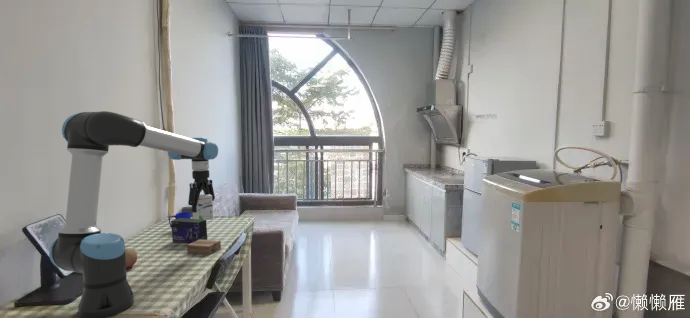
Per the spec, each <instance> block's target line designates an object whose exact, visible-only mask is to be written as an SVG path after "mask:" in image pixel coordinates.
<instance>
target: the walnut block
mask: <svg viewBox="0 0 690 318" xmlns="http://www.w3.org/2000/svg"><path fill="white" fill-rule="evenodd" d="M221 245H222V243H221V240H212V239H207V240H202V239H199V240H197V241H195V242H192V243H190V244H186V249H187V251H186V252H187V254H192V253H194V254H195V255H205V256H210V255H212V254H214V253H216V252H218V251H220V250H221V249H222V246H221Z"/></svg>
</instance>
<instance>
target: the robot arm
mask: <svg viewBox="0 0 690 318" xmlns="http://www.w3.org/2000/svg"><path fill="white" fill-rule="evenodd" d="M61 134H62V137H63V139H65V141H66V143H67V145H66V150H67V151H68V152H69V153H70V154H71V163H70V164H71V165H70V172H69V173H70V174H69V183H68V184H69V185H68V192H67V203H66V212H65V213H66V214H65V224H64V226H63V227H62V228H60V229H59V230H58V235H57V238H56V239H55V240H54V241H53V242H52V243H51V244H50V247H49V249H48V250H49V251H48V257H49V260H50V261H51V263H52V264H53V265H54V267H55V266H56V267H57V268H59V269H61V270H64V271H66V272H67V271H68V272H74V273H78V274H82V281H83V291H82V293H81V296H80V297H81V298H80V302H79V304H78V307H77V309H78V310H77V312H78V316H79V317H80V318H106V317H110V316H113V315H116V314H120V313H121V312H124V311H126V310H127V309H129V308H130V307H131V306H133V305H134V303H135V295H134V292H133V290H132V288H131V285H130V284H129V282H128V278H127V276H128V275H127V268H126V258H125V249H127V248H126V243H125V239H124V237H123V236H122V235H120V234H117V233H112V232H109V233H106V232H102V230H101V228H100V227H99V226H98V225H97V222H98V221H97V220H98V210H99V198H100V186H101V176H102V167H103V157H104V156H106V155H107V154H108V153H109V148H110V146H127V147H132V148H137V147H140V146H141V147H146V148H149V149H154V150H159V151H164V152H167V156H168V157H169V158H170V159H171V160H174V161H175V160H178V161H179V160H191V170H192V172H191V174H192V175H191V176H192V179H193V180H194V181H193V182H191V183H189V193H188V201H187V202H188V203H187V205H189V206H191V212H193V213H192V219H199V207H198V205H197V203H198V199H199V196H200V195H201V193H202V191H203V195H204V194H210V195H212V202H214V201H215V199H216V196H215V192H214V187H213V180H212V179H209V178H210V165H209V164H210V162H209V161H210V160H215V159H216V158H217V157H218V154H219V147H218V145H217V144H216V143H215V142H213V141H211V142H210V141H208V138H207V137H192V138H191V137H188V136H184V135H181V134H177V133H174V132H170V131H167V130H163V129H160V128H156V127H152V126H149V125H146V124H145V121H144V122H143V120H139V119H137V118H136V119H135V118H133V117H129V116H127V115H123V114H120V113H116V112H113V111H106V110H103V111H102V110H101V111H83V112H77V113H75V114H72V115H69V116H68V117H67V118H66V119H65V121H64V122H63V124H62V125H61ZM101 232H102V233H101Z"/></svg>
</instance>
